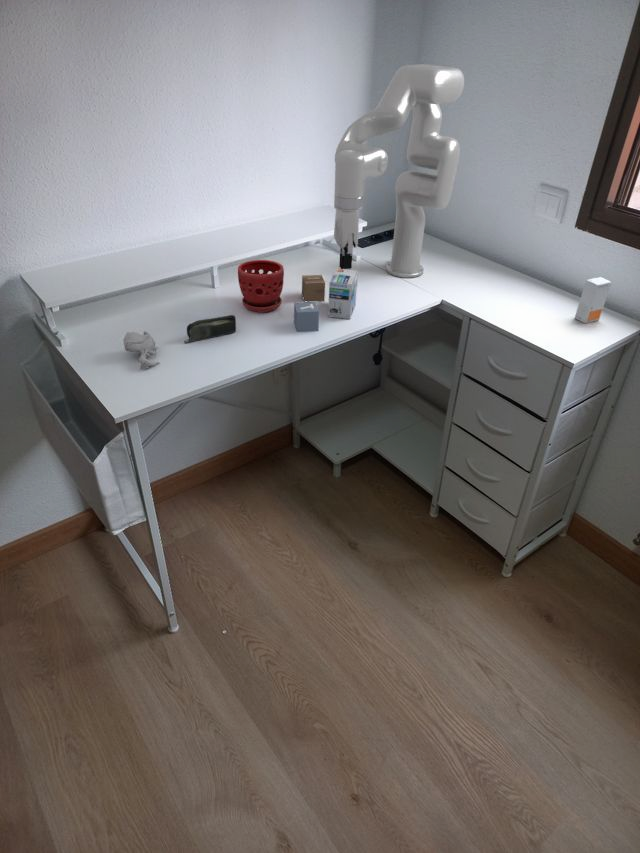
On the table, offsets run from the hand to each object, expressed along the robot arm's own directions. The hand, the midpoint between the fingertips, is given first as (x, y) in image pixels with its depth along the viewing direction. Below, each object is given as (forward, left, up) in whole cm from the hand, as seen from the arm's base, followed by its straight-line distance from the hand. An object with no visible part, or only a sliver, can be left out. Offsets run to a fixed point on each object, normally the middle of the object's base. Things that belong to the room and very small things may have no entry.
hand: (345, 267), depth 176 cm
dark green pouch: (+12, -39, -13) cm, 43 cm away
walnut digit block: (-10, -7, -13) cm, 18 cm away
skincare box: (+13, +71, -13) cm, 73 cm away
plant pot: (-6, -23, -13) cm, 27 cm away
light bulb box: (0, 0, -13) cm, 13 cm away
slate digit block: (+9, -12, -13) cm, 20 cm away
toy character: (+23, -56, -13) cm, 61 cm away
